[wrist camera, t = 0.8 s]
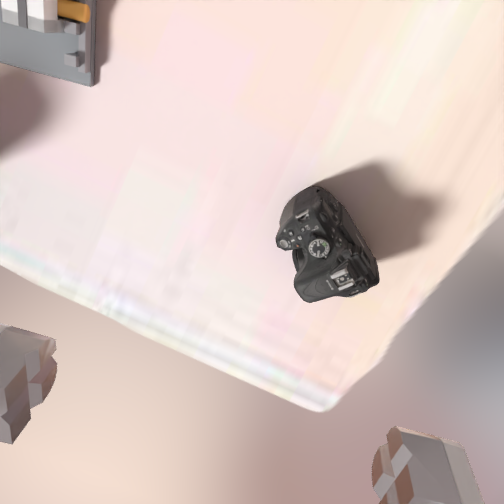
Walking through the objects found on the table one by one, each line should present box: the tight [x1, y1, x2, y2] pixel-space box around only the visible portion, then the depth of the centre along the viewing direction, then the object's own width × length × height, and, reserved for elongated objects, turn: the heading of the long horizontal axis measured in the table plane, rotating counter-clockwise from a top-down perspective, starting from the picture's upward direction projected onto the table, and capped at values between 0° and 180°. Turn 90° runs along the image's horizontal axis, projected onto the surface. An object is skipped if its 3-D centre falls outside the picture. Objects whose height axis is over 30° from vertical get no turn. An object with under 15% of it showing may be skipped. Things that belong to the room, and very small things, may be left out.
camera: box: [276, 187, 379, 303], centre depth 45 cm, size 13×10×10 cm
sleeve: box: [1, 0, 67, 33], centre depth 38 cm, size 4×4×4 cm
